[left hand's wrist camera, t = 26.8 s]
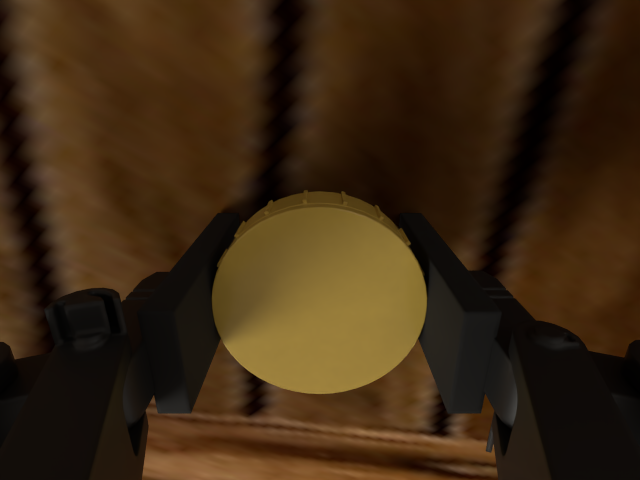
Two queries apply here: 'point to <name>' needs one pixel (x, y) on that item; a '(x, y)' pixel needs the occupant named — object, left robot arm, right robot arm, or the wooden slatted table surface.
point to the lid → (319, 293)
